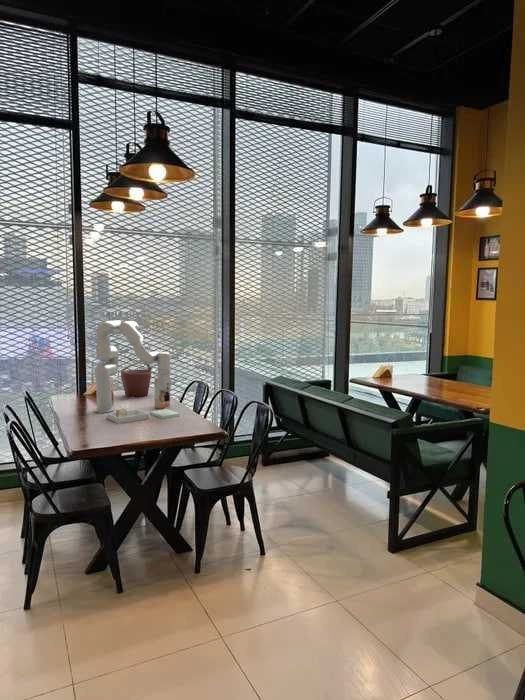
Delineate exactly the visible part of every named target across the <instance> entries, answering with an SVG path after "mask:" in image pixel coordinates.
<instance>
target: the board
mask: <svg viewBox="0 0 525 700" xmlns="http://www.w3.org/2000/svg"><path fill="white" fill-rule="evenodd" d="M149 415H153V416H155V417H157V418H159V419H167V418H168V419H169V418H178V417H177V416H179V417H180V413H179V412H178V411H174V410H171V409H168V408H163V409H158V410H152V411H149Z"/></svg>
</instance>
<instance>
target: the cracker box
mask: <svg viewBox="0 0 525 700" xmlns="http://www.w3.org/2000/svg"><path fill="white" fill-rule="evenodd" d="M157 378H158V376H156V377H154V409H157V408H158V410H163V409H165V408H166V407H168V406H170V405H171V401H170V402H164V403H162V402H160V401H159V392H160V391H159V389H158V388H157ZM166 390H167V389H166Z"/></svg>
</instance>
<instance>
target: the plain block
mask: <svg viewBox="0 0 525 700" xmlns="http://www.w3.org/2000/svg"><path fill="white" fill-rule="evenodd" d="M127 411H128V410H127V409H126V408H117V409H115V412H116V417H118V418H122V417H127Z"/></svg>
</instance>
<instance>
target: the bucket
mask: <svg viewBox="0 0 525 700" xmlns="http://www.w3.org/2000/svg"><path fill="white" fill-rule="evenodd" d="M134 365H145V366H146V367H147V369H140V368H139V369H128V368H130V367H132V366H134ZM126 369H127V370H126ZM152 371H153V367H152V366H150V365H147V364H145V363H143V362H134V363H130V364H128V365H127V366H125V367H123V368H122V369H121V370H120V376H121V377H120V378H121V382H122V386H123V390H124V394H125V397H127V398H129V397H135V399H139V398H140V397H141V398H146V397H149V391H150V390H149V389H150V383H151V378H152ZM145 396H146V397H145Z"/></svg>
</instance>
